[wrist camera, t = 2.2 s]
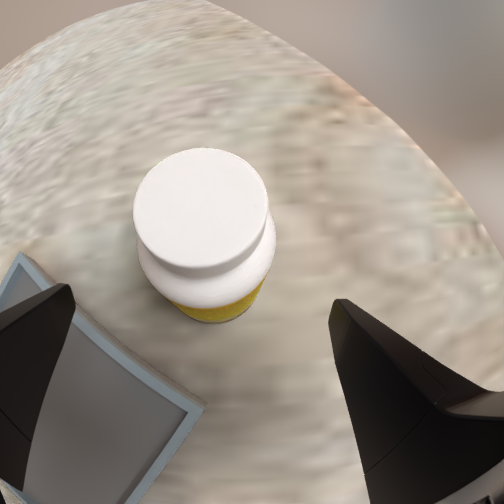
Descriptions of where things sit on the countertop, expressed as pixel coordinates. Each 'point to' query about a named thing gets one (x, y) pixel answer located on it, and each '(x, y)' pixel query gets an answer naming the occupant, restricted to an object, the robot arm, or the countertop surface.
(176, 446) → the grey square tray
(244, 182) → the pill bottle
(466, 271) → the countertop surface
